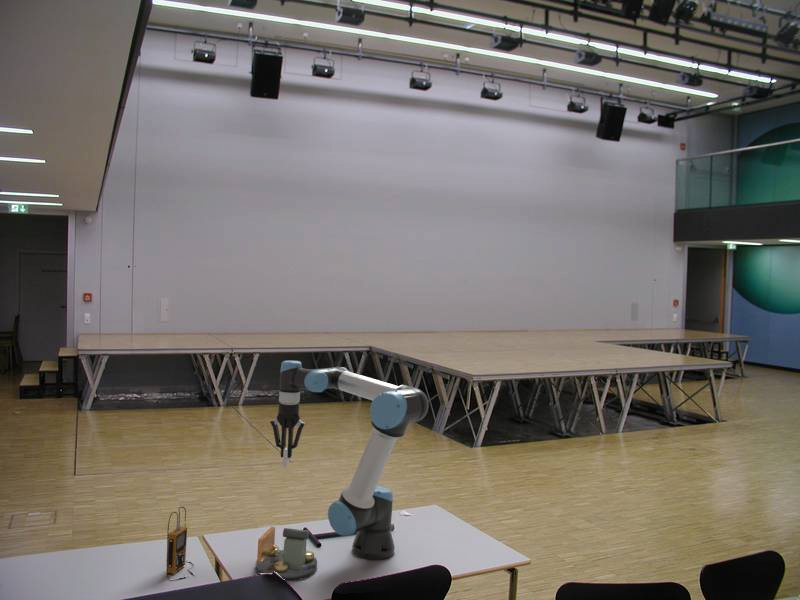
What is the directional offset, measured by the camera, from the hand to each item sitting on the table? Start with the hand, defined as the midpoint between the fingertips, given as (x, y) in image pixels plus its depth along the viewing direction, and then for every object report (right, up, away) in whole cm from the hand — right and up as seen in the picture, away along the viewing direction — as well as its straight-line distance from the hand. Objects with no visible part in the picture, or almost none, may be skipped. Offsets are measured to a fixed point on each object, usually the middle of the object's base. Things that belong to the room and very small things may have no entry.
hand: (285, 466), depth 259 cm
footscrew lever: (-2, -25, -27) cm, 37 cm away
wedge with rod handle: (+7, -26, -28) cm, 39 cm away
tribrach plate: (+5, -27, -26) cm, 38 cm away
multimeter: (-26, -26, -34) cm, 50 cm away
